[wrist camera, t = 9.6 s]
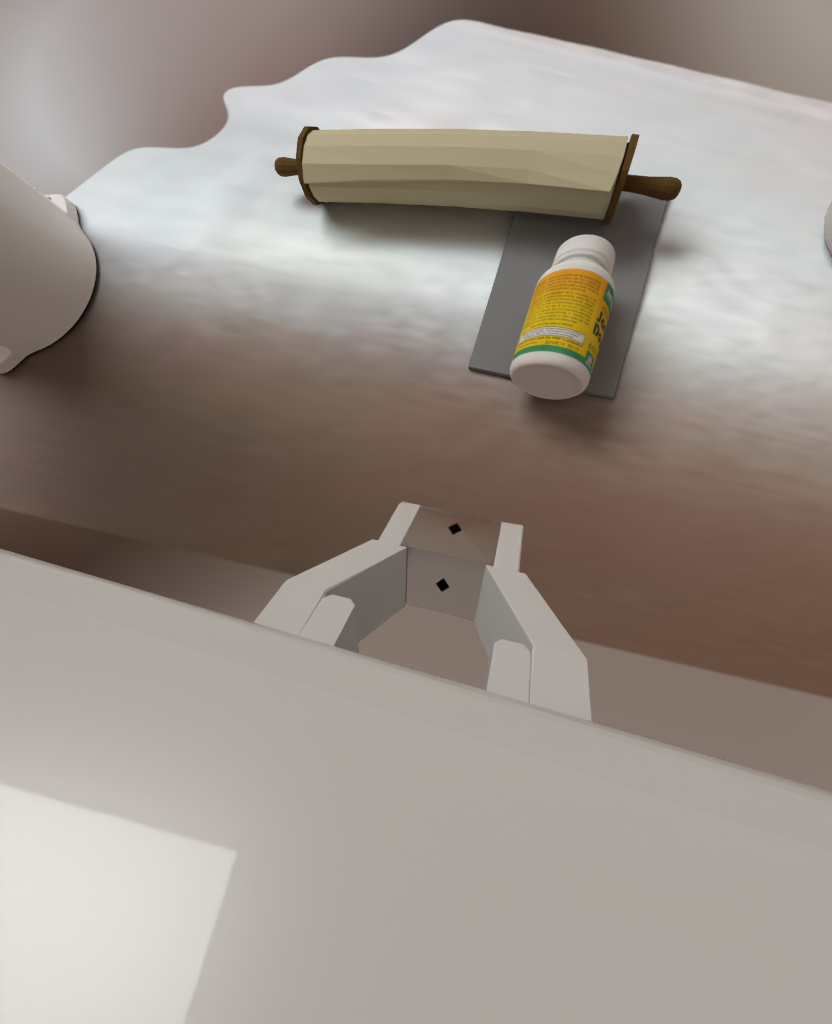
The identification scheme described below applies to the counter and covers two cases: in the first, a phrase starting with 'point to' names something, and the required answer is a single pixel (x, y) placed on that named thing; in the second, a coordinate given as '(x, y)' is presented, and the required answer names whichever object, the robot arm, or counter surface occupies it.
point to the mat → (535, 254)
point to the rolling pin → (472, 170)
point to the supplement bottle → (566, 320)
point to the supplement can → (828, 228)
